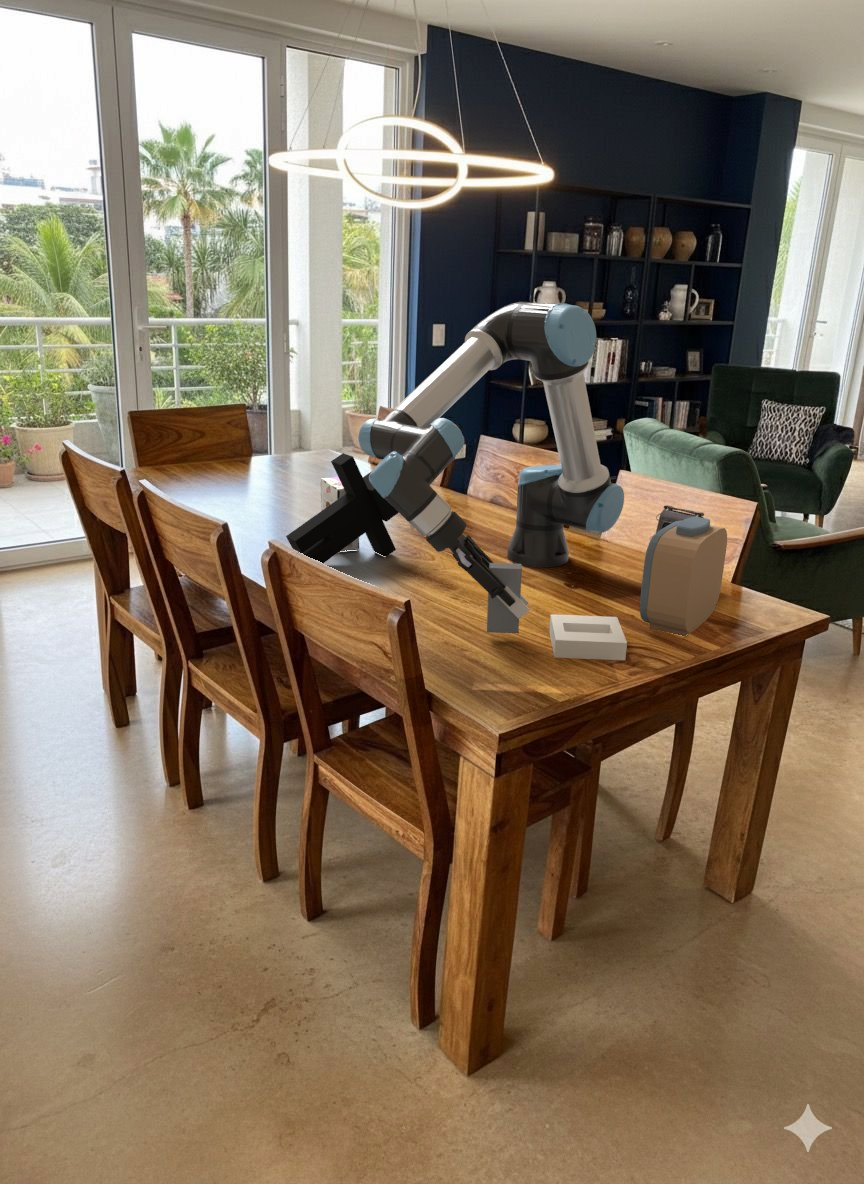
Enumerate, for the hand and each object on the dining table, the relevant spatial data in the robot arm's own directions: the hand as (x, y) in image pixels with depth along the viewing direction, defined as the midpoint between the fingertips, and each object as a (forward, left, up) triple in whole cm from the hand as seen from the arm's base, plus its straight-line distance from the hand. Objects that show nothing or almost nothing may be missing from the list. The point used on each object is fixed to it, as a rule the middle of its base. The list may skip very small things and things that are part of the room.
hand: (523, 610), depth 170 cm
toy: (-45, -40, -6) cm, 60 cm away
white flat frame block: (+1, +12, -6) cm, 14 cm away
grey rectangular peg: (0, -4, -4) cm, 6 cm away
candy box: (-58, -44, -6) cm, 73 cm away
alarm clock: (-12, +32, -6) cm, 35 cm away
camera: (-33, +36, -6) cm, 49 cm away
